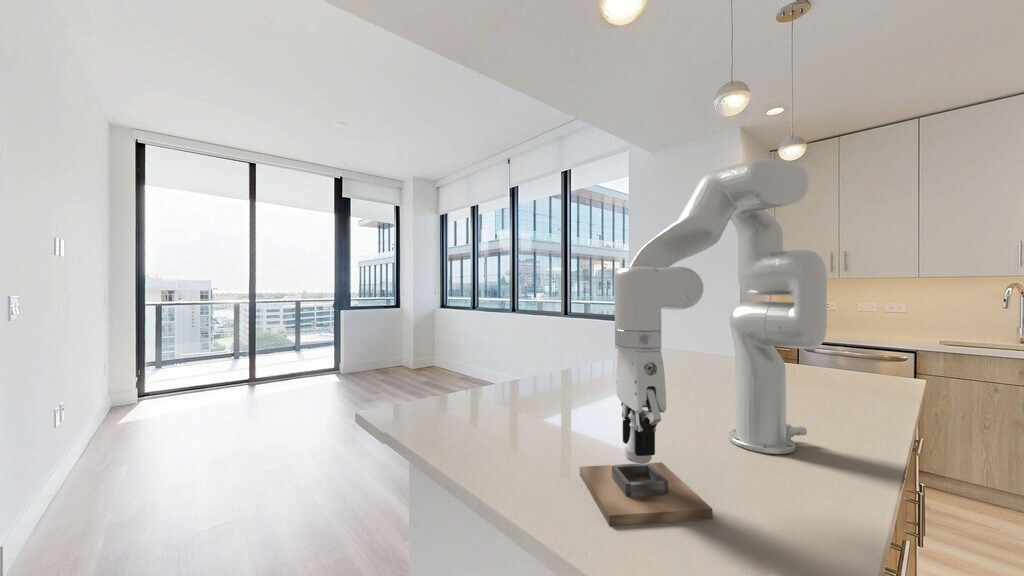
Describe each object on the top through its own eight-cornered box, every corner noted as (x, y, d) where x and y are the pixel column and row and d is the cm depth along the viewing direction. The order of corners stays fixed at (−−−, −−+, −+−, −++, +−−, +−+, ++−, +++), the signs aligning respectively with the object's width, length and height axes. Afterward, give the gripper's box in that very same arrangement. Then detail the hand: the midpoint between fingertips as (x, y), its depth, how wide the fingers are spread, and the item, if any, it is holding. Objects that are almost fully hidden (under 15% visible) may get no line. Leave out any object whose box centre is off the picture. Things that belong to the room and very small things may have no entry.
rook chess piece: (620, 453, 68) (620, 407, 68) (645, 452, 68) (645, 406, 69) (630, 464, 64) (630, 415, 64) (656, 463, 64) (656, 414, 64)
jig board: (661, 470, 75) (661, 451, 75) (712, 518, 59) (712, 495, 59) (579, 474, 73) (579, 455, 73) (609, 525, 57) (608, 501, 57)
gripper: (685, 346, 58) (686, 470, 58) (638, 334, 75) (638, 430, 75) (636, 347, 57) (637, 472, 57) (600, 334, 74) (600, 431, 74)
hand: (638, 447), depth 66 cm, fingers closed on rook chess piece, 4 cm apart
